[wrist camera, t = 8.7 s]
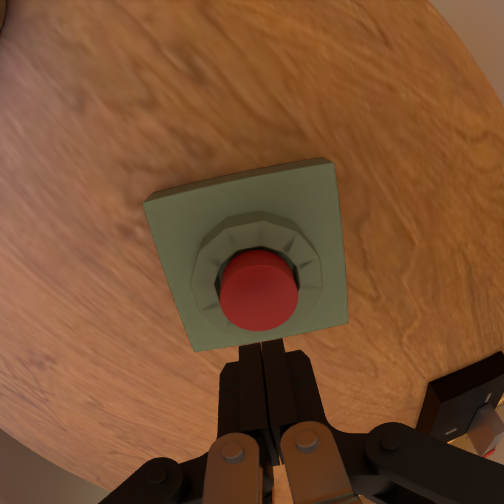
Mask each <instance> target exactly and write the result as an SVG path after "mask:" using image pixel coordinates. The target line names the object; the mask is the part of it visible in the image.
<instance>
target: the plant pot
mask: <svg viewBox="0 0 504 504" xmlns="http://www.w3.org/2000/svg"><path fill="white" fill-rule="evenodd" d="M5 11H6V0H0V30H1V28H2V24H3V21H4V17H5Z"/></svg>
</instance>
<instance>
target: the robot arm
mask: <svg viewBox="0 0 504 504" xmlns="http://www.w3.org/2000/svg"><path fill="white" fill-rule="evenodd" d="M219 387H220V389H219V405H218V432H217V439H216V441H215V442H214V443H213V444H212V445H211V447H210V449H209V451H208V452H207V453H205V454H204V455H202V456H200V457H198V458H195V459H192V460H189V461H186V462H183V463H180V464H178V463H177V462H176V461H174V460H172V459H170V458H166V457H159V458H154V459H151V460H149V461H147V462H146V463H145V464H143V465H142V466H141V467H140V468H139V469H138V470H137V471H135V472H134V473H133V474H132V475H131V476H130V477H129V478H128V479H126V480H125V481H124V482H123V483H122V484H121V485H120V486H118V487H117V488H116V489H115V490H114V491H113V492H111V493H110V494H109V495H108V496H107V497H105V498H104V499H103V500H102V501H101V502H100V503H98V504H275V490H274V476H273V466H277V465H280V461H279V456H280V459H281V462H282V465H283V464H285V469H286V473H287V477H288V482H289V486H290V490H291V494H292V499H293V503H294V504H363V503H362V501H361V499H360V497H359V496H358V495H363V496H364V497H365V498H367V499H369V500H371V501H372V502H375V503H376V504H504V465H502V464H499V463H497V462H494V461H491V460H488V459H486V458H483V457H480V456H478V455H475V454H473V453H470V452H467V451H465V450H462V449H460V448H457V447H455V446H453V445H450V444H448V443H445V442H443V441H441V440H438V439H436V438H434V437H431V436H429V435H427V434H424V433H422V432H420V431H418V430H415V429H413V428H411V427H409V426H407V425H404V424H402V423H397V422H388V423H384V424H381V425H379V426H377V427H375V428H374V429H372V430H371V431H370V433H345V432H341V431H339V430H337V429H335V428H334V427H332V426H331V425H330V424H329V423H328V421H327V419H326V417H325V413H324V409H323V406H322V402H321V398H320V395H319V391H318V387H317V384H316V380H315V376H314V373H313V369H312V365H311V362H310V358H309V357H308V356H307V355H306V354H305V353H304V352H303V351H302V350H296V351H291V352H286V353H285V349H284V344H283V339H282V338H280V339H275V340H270V341H264V342H262V347H261V344H260V342H259V343H254V344H248V345H243V346H239V361H236V362H230V363H226V365H225V366H224V368H223V370H222V372H221V373H220V382H219Z"/></svg>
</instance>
